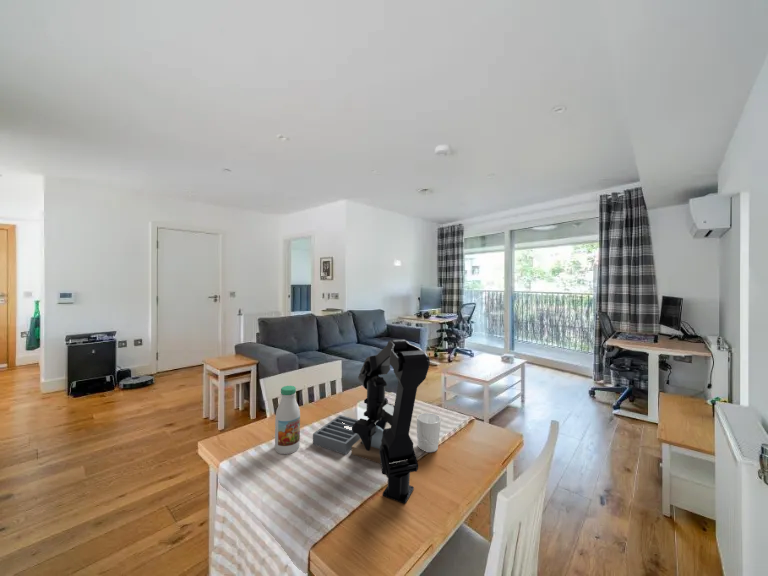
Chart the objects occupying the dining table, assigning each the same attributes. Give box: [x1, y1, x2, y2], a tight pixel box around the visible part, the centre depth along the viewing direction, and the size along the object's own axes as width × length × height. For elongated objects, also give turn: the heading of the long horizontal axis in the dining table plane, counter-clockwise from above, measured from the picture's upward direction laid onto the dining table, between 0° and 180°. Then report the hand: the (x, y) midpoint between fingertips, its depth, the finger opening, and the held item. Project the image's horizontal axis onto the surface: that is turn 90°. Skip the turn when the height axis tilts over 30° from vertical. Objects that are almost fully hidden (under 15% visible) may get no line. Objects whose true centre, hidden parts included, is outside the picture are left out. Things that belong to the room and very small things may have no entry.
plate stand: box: [350, 438, 381, 465], centre depth 101 cm, size 8×12×2 cm, turn 64°
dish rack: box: [312, 414, 360, 455], centre depth 110 cm, size 16×13×4 cm
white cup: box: [416, 412, 442, 453], centre depth 106 cm, size 8×8×10 cm
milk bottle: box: [274, 385, 301, 455], centre depth 102 cm, size 8×8×20 cm
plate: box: [362, 424, 384, 449], centre depth 101 cm, size 1×9×9 cm, turn 64°
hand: (374, 443), depth 101 cm, fingers open, 8 cm apart
